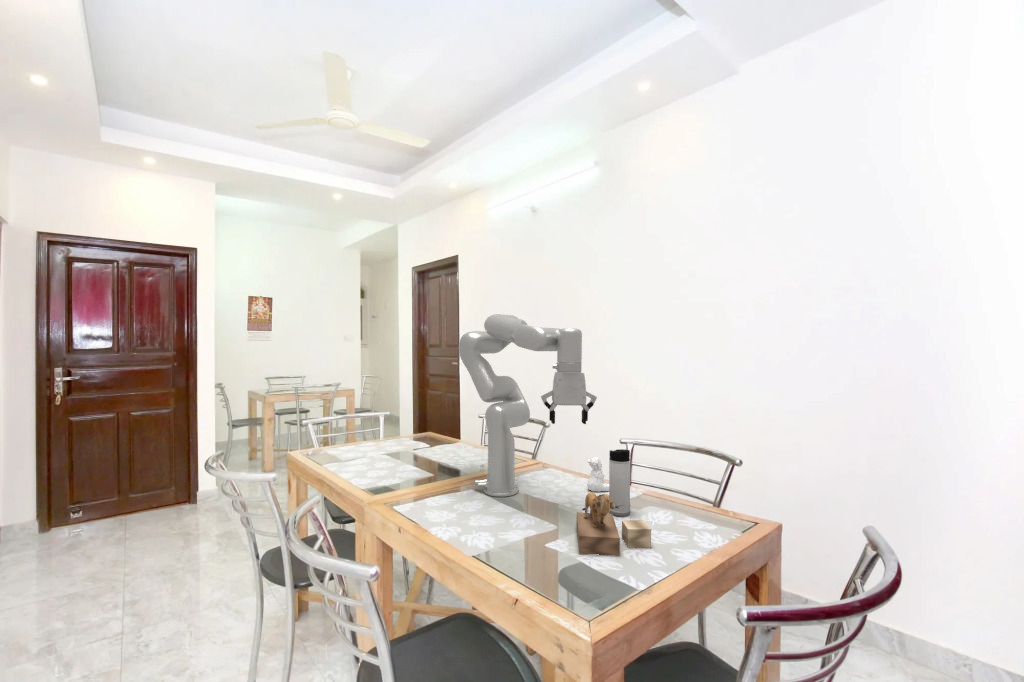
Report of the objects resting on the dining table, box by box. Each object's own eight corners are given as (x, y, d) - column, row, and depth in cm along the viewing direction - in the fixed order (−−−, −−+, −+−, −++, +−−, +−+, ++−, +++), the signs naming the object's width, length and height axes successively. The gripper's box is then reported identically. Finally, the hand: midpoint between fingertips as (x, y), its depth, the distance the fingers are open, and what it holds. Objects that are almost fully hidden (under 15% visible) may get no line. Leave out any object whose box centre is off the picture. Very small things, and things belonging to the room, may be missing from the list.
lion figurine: (618, 530, 117) (618, 495, 117) (599, 533, 115) (600, 497, 115) (590, 510, 131) (590, 479, 131) (573, 512, 129) (574, 480, 129)
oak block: (628, 548, 117) (628, 529, 117) (621, 538, 123) (621, 520, 123) (651, 548, 117) (651, 529, 117) (643, 538, 123) (643, 520, 123)
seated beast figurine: (616, 491, 163) (616, 457, 163) (599, 495, 158) (599, 461, 158) (597, 484, 170) (597, 452, 171) (580, 488, 166) (580, 455, 166)
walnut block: (578, 556, 114) (579, 535, 114) (576, 529, 130) (576, 512, 130) (619, 558, 113) (619, 537, 113) (612, 531, 129) (612, 513, 129)
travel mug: (619, 518, 137) (619, 452, 137) (605, 511, 143) (605, 447, 143) (635, 515, 140) (635, 450, 140) (620, 508, 146) (620, 445, 146)
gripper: (543, 368, 137) (542, 425, 137) (599, 369, 138) (598, 425, 138) (540, 367, 144) (539, 421, 144) (593, 367, 145) (593, 421, 145)
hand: (568, 423), depth 141 cm, fingers open, 9 cm apart
